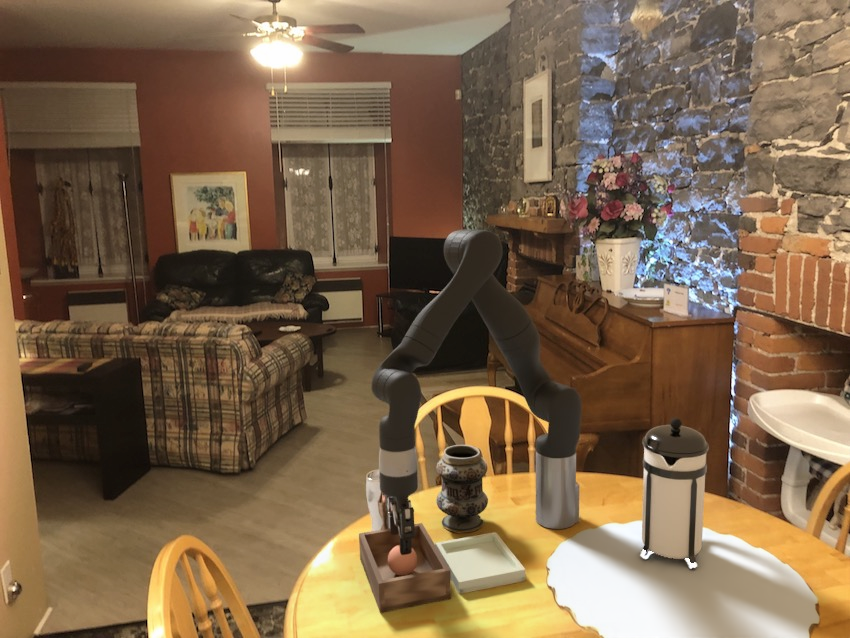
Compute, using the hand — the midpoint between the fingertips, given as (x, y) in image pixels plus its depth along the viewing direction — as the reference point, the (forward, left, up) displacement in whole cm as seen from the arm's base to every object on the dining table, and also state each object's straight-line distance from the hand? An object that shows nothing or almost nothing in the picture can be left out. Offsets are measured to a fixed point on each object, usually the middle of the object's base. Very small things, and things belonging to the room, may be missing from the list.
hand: (400, 543), depth 140 cm
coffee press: (-57, +8, -8) cm, 58 cm away
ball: (0, 0, -4) cm, 4 cm away
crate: (0, 0, -8) cm, 8 cm away
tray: (-16, +1, -8) cm, 18 cm away
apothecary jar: (-19, -18, -8) cm, 28 cm away
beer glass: (0, -18, -8) cm, 20 cm away
